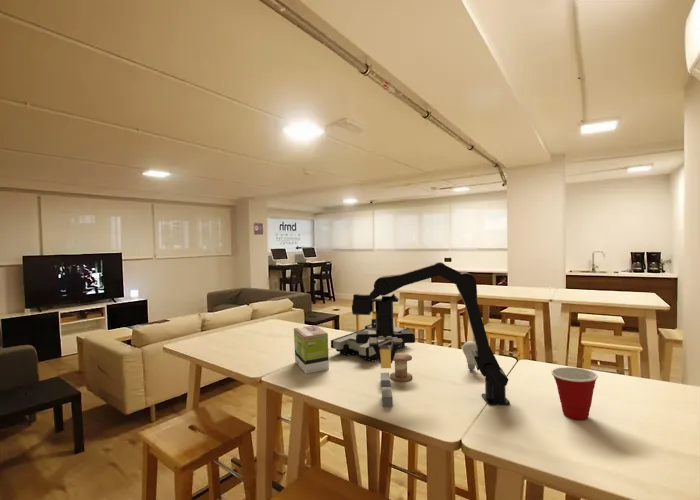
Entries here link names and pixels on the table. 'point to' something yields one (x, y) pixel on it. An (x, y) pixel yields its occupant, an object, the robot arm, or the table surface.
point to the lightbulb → (469, 353)
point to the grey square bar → (386, 390)
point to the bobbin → (401, 368)
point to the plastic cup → (575, 391)
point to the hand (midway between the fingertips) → (385, 363)
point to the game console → (350, 346)
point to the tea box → (311, 349)
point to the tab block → (385, 356)
